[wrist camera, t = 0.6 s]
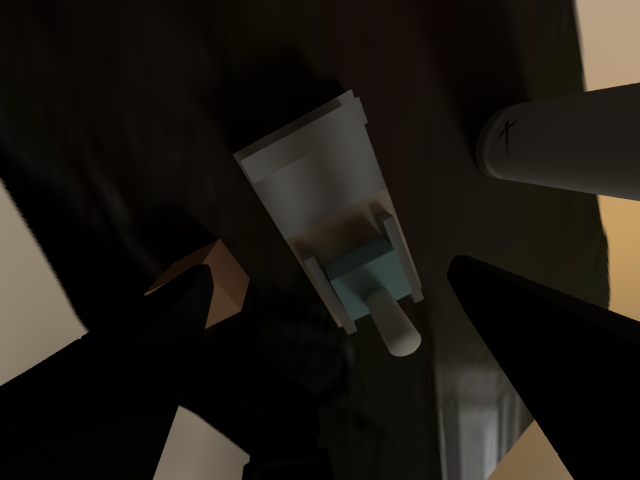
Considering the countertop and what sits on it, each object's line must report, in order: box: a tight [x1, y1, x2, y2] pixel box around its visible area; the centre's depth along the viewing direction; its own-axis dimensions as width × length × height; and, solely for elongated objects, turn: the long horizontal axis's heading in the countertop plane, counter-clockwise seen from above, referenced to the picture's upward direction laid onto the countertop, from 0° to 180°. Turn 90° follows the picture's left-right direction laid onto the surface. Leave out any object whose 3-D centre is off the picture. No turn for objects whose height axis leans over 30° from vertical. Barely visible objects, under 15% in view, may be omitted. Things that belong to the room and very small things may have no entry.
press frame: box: [232, 90, 424, 335], centre depth 20 cm, size 10×20×6 cm, turn 26°
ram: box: [324, 236, 421, 356], centre depth 19 cm, size 6×5×8 cm
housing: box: [144, 239, 250, 329], centre depth 20 cm, size 5×5×5 cm
